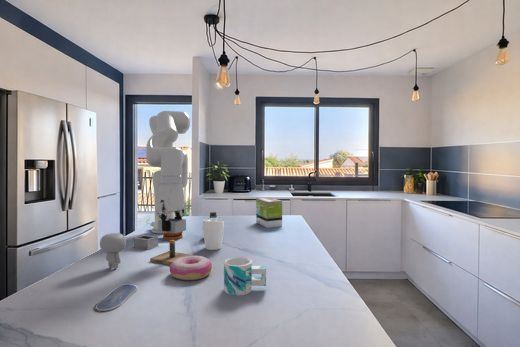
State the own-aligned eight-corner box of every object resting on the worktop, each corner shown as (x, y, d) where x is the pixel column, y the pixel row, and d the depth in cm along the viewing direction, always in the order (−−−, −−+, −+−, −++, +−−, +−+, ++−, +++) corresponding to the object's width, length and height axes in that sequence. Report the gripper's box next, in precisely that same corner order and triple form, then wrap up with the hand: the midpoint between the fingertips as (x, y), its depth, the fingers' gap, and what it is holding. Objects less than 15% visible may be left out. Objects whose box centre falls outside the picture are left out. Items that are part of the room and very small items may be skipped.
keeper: (150, 261, 117) (150, 242, 117) (168, 254, 126) (168, 236, 126) (176, 266, 112) (176, 246, 112) (193, 258, 121) (193, 239, 121)
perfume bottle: (213, 239, 149) (213, 214, 148) (204, 237, 153) (203, 212, 152) (222, 237, 154) (222, 212, 153) (213, 235, 157) (213, 211, 157)
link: (158, 231, 117) (158, 220, 117) (169, 228, 123) (169, 218, 123) (175, 233, 114) (175, 222, 114) (186, 230, 119) (186, 219, 119)
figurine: (130, 267, 111) (130, 233, 111) (110, 273, 105) (110, 237, 104) (116, 263, 115) (115, 230, 115) (96, 269, 109) (95, 234, 108)
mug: (226, 283, 97) (226, 256, 97) (265, 284, 97) (265, 256, 96) (222, 295, 89) (222, 265, 88) (266, 295, 89) (266, 266, 88)
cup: (220, 251, 130) (220, 222, 129) (199, 250, 132) (199, 221, 131) (226, 245, 139) (226, 218, 138) (207, 244, 141) (207, 217, 140)
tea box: (255, 222, 188) (255, 197, 187) (270, 221, 192) (270, 197, 192) (266, 228, 174) (266, 201, 174) (282, 226, 179) (283, 200, 178)
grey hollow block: (133, 247, 136) (133, 237, 136) (144, 243, 141) (144, 234, 141) (147, 249, 132) (147, 240, 132) (158, 246, 138) (158, 236, 138)
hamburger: (163, 241, 146) (163, 227, 146) (162, 236, 155) (161, 223, 155) (184, 239, 149) (184, 225, 149) (181, 235, 158) (181, 221, 158)
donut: (169, 284, 96) (169, 268, 96) (169, 269, 109) (169, 255, 109) (214, 280, 100) (214, 264, 100) (209, 266, 113) (209, 252, 113)
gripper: (178, 179, 127) (179, 224, 128) (146, 181, 112) (147, 233, 112) (194, 179, 124) (194, 226, 125) (163, 182, 108) (163, 235, 109)
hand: (172, 228), depth 118 cm, fingers closed on link, 6 cm apart
